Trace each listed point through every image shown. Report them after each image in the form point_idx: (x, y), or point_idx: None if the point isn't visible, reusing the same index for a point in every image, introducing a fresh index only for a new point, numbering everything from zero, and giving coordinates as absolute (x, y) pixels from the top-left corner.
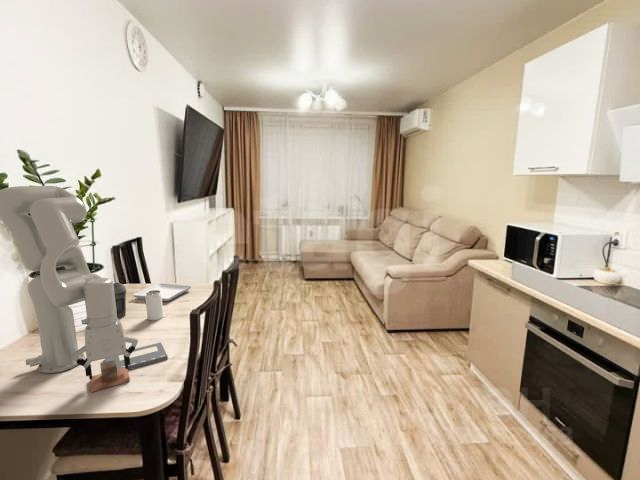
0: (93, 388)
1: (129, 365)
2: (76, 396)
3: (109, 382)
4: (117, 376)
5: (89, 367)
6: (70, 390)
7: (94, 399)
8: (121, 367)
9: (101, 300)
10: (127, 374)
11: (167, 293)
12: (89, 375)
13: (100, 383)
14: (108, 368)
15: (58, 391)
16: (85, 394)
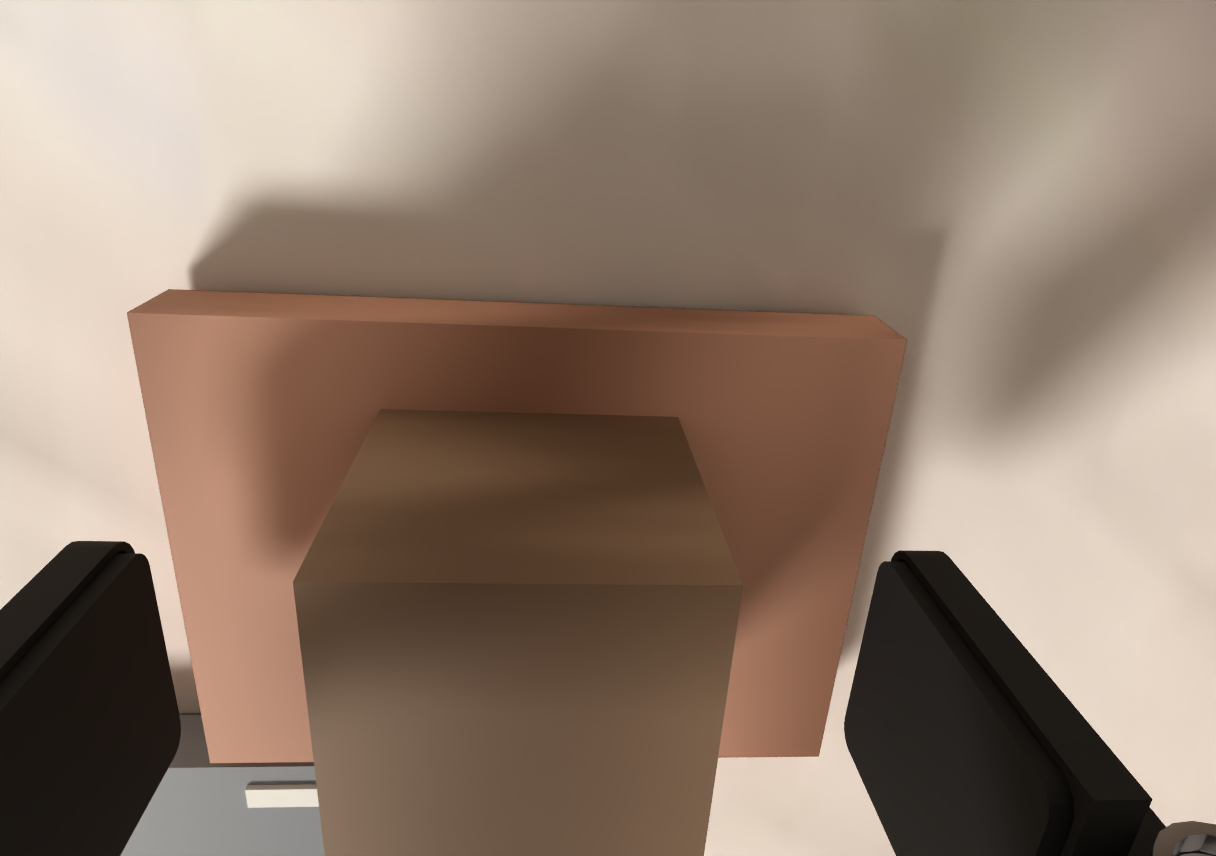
0: (854, 336)
1: (165, 786)
2: (1082, 353)
3: (553, 362)
4: (372, 435)
5: (1104, 797)
6: (1087, 591)
7: (877, 8)
8: (308, 787)
9: None
10: (179, 469)
11: None
12: (981, 608)
13: (715, 426)
14: (532, 613)
15: (1209, 654)
16: (956, 326)
